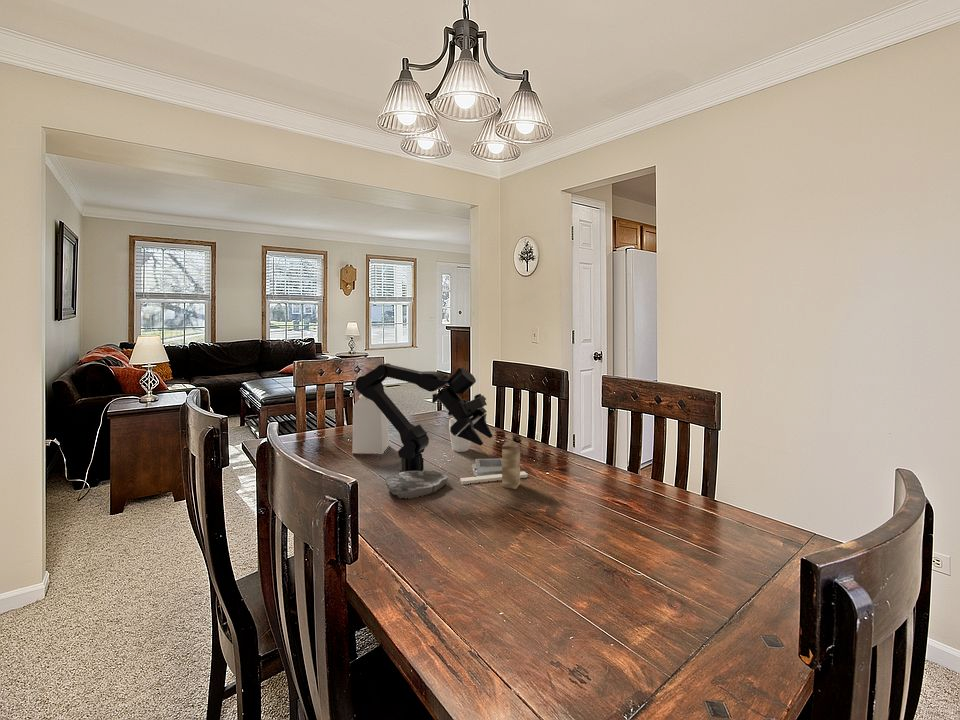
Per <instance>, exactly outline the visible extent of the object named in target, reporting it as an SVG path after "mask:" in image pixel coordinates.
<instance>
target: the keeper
mask: <svg viewBox="0 0 960 720" xmlns="http://www.w3.org/2000/svg"><path fill="white" fill-rule="evenodd" d="M471 467H472V473H473V477H474V476H485V475H494V474H502V457H500V458H498V457H497V458H475V461H474V464H473V463H472V464H471Z"/></svg>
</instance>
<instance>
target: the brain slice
mask: <svg viewBox="0 0 960 720" xmlns="http://www.w3.org/2000/svg"><path fill="white" fill-rule="evenodd" d="M448 478H449V476H448V475H447V474H445V473H441V472H438V471H435V470H431V471H429V470H423V471H406V472H398V473H397V474H394V475H389V476H386V479H384V482H385V483H386V486H387V489H388V491H390V492H391V494H392V495H393V494H394V495H393V496H395V495H397V496H396V497H398V498H399V499H401V498H405V499H406V500H411V499H410V498H412V499H415V498H414V497H416V498H420V497H419V496H421V497H425V496H424V495H426V496H427V494H428V495H430V494H435V493H436V492H437V491H438V489H439V490H440V489H442V487H444V486H445V484H447V481H448ZM407 498H408V499H407ZM405 499H404V500H405Z"/></svg>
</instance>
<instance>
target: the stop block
mask: <svg viewBox="0 0 960 720" xmlns="http://www.w3.org/2000/svg"><path fill="white" fill-rule="evenodd" d="M501 458H502V480H501V487H502V488H504V489H505V488H507V489H513V490H516V489H518V487H519V486H520V485H521V478H520V472H521V443H520V442H509V441H506V442H504V444H502V445H501Z"/></svg>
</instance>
